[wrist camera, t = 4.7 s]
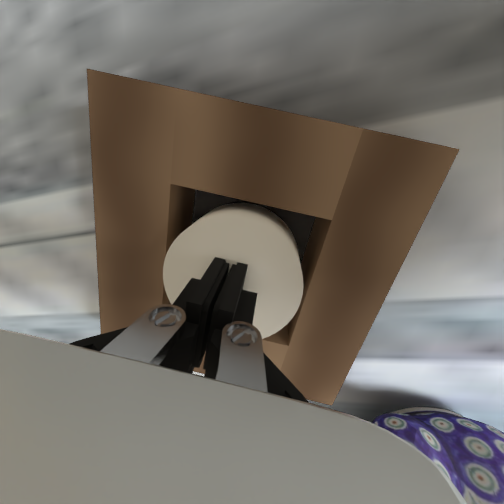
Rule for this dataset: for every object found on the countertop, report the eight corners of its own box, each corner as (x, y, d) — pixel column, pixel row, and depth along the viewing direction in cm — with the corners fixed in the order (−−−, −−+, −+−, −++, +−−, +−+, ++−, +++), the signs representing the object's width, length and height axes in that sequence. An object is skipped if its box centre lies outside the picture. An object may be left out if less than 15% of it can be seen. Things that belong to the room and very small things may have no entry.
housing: (411, 151, 14) (459, 149, 10) (322, 358, 20) (331, 405, 16) (138, 91, 14) (86, 68, 10) (134, 313, 20) (101, 348, 16)
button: (313, 217, 14) (322, 236, 10) (282, 315, 16) (282, 355, 13) (193, 190, 14) (167, 201, 11) (183, 292, 17) (159, 325, 13)
